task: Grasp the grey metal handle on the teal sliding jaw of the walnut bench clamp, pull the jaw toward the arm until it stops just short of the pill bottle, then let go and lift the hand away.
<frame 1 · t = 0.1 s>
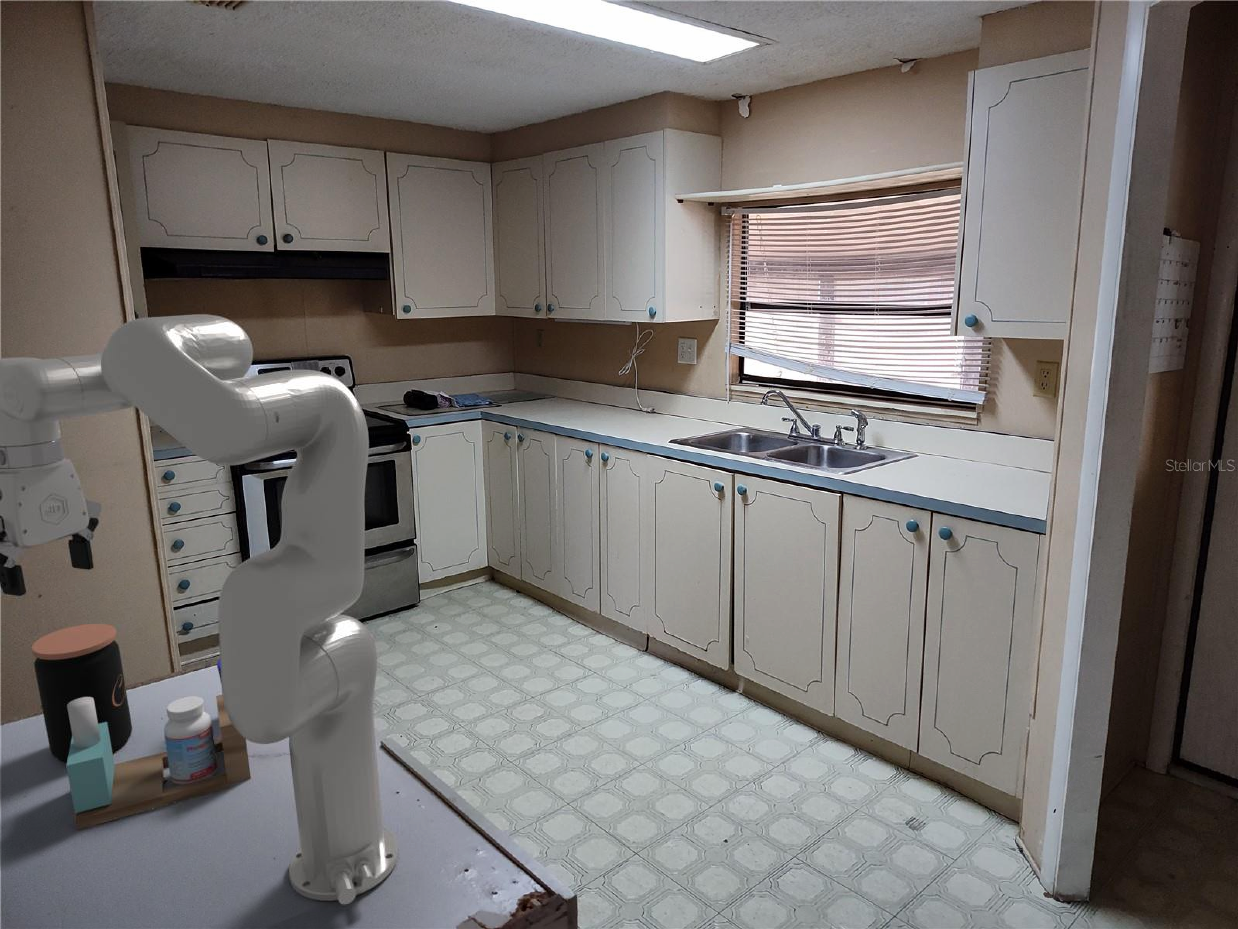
hand: (50, 580, 109), 31 cm above the counter, tool pointing down, fingers open, 9 cm apart
clamp frame: (167, 781, 117), on the counter
coffee jar: (93, 747, 126), on the counter
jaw: (88, 746, 111), point 8 cm above the counter, slide at 0.0 cm
mug: (262, 710, 137), on the counter
pill bottle: (195, 776, 119), resting in clamp frame
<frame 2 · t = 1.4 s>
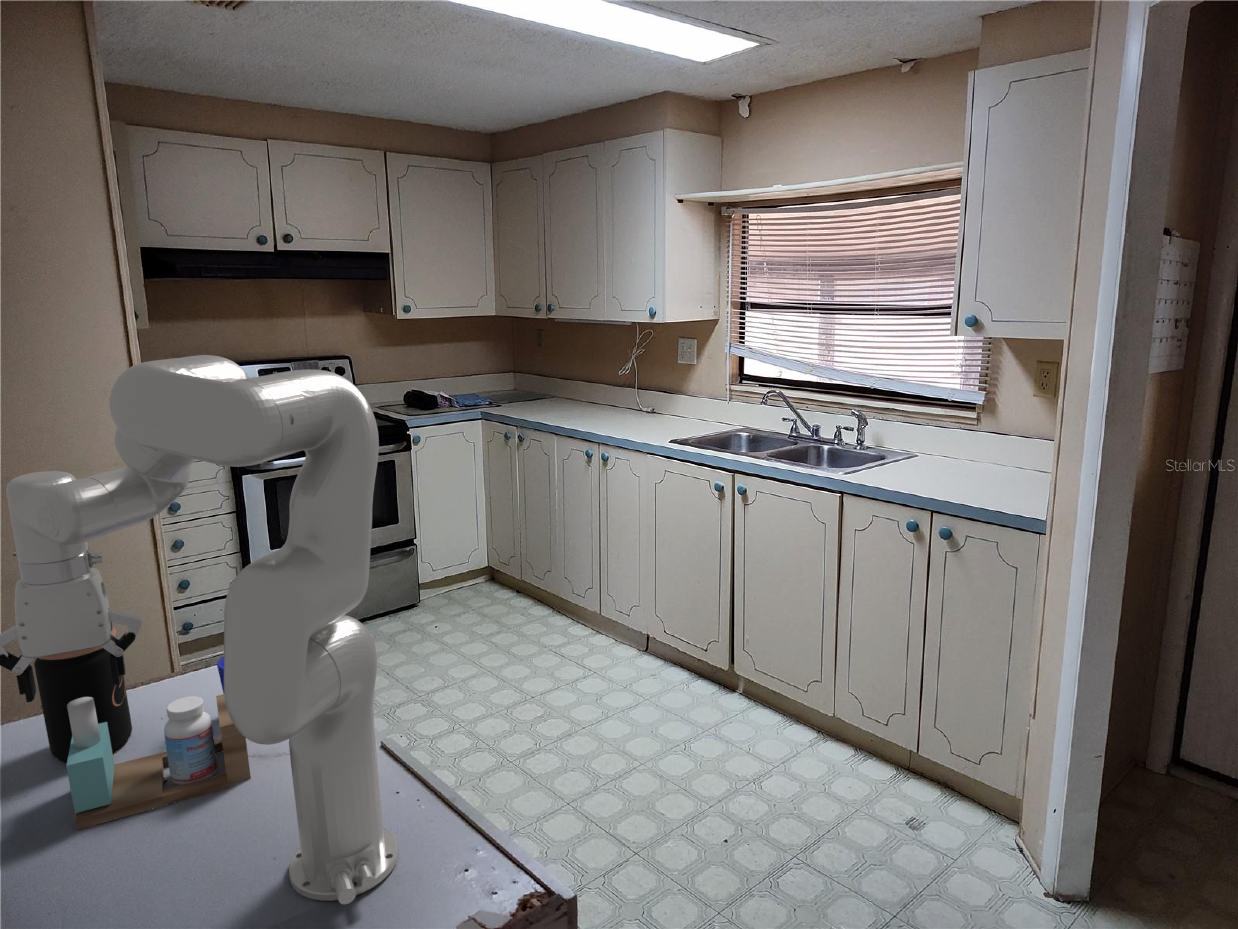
hand: (75, 688, 110), 17 cm above the counter, tool pointing down, fingers open, 9 cm apart
nothing on the counter moved.
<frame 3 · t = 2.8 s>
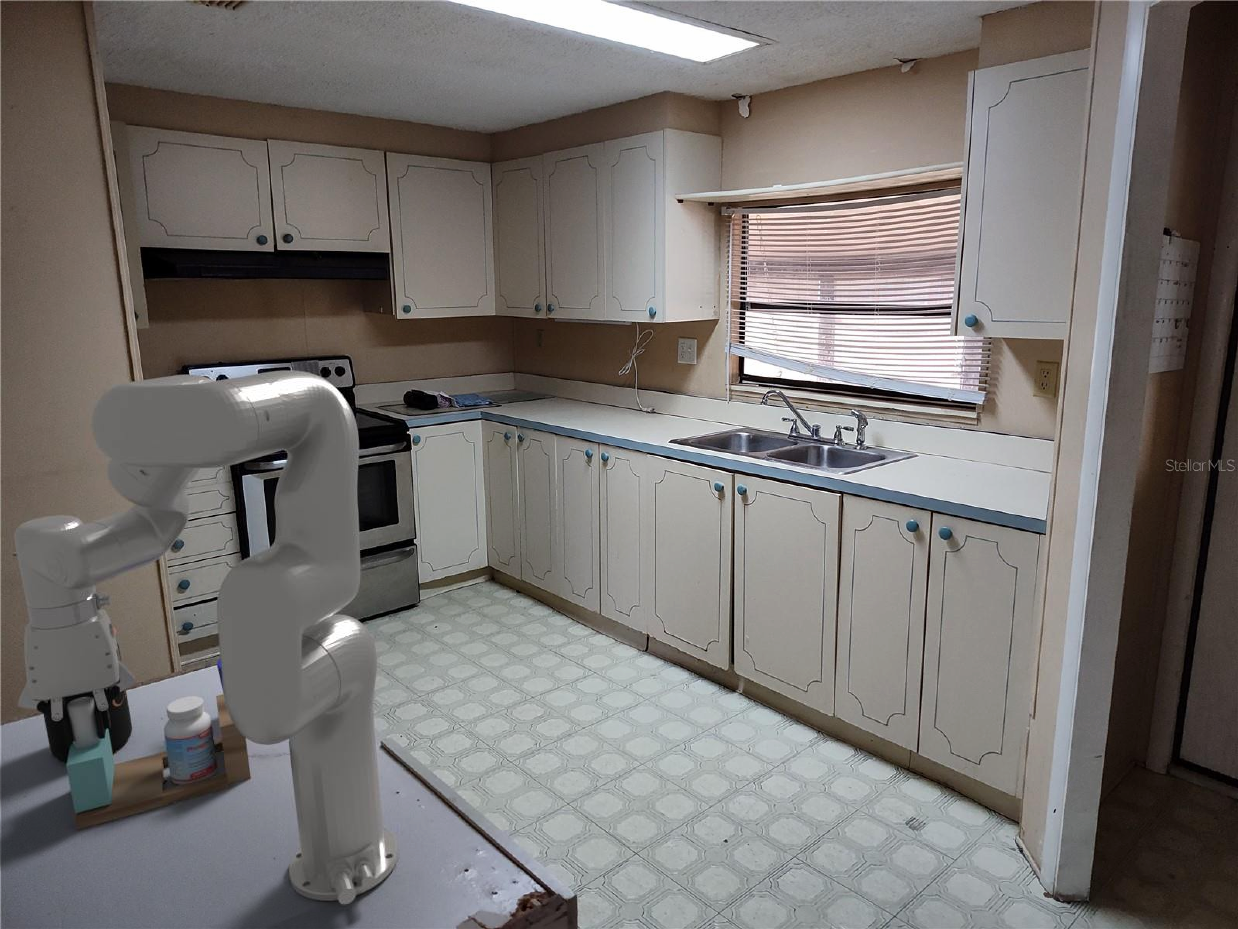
hand: (86, 736, 111), 10 cm above the counter, tool pointing down, fingers closed on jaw, 3 cm apart
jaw: (88, 746, 111), point 8 cm above the counter, slide at 0.0 cm, touching gripper
everything else where it was.
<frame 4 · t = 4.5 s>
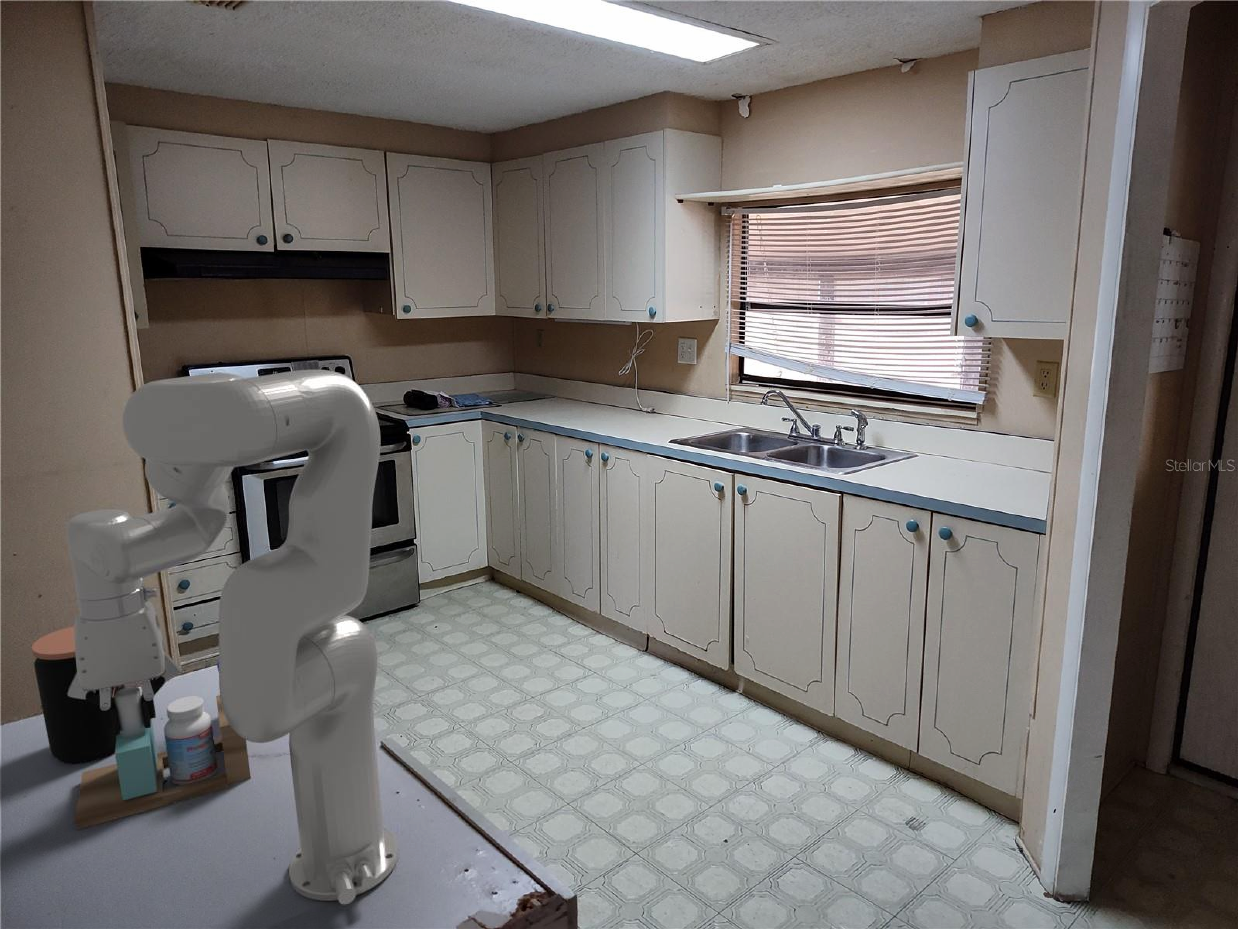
hand: (132, 726, 114), 10 cm above the counter, tool pointing down, fingers closed on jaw, 3 cm apart
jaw: (134, 735, 114), point 8 cm above the counter, slide at 5.4 cm, touching gripper
everything else where it was.
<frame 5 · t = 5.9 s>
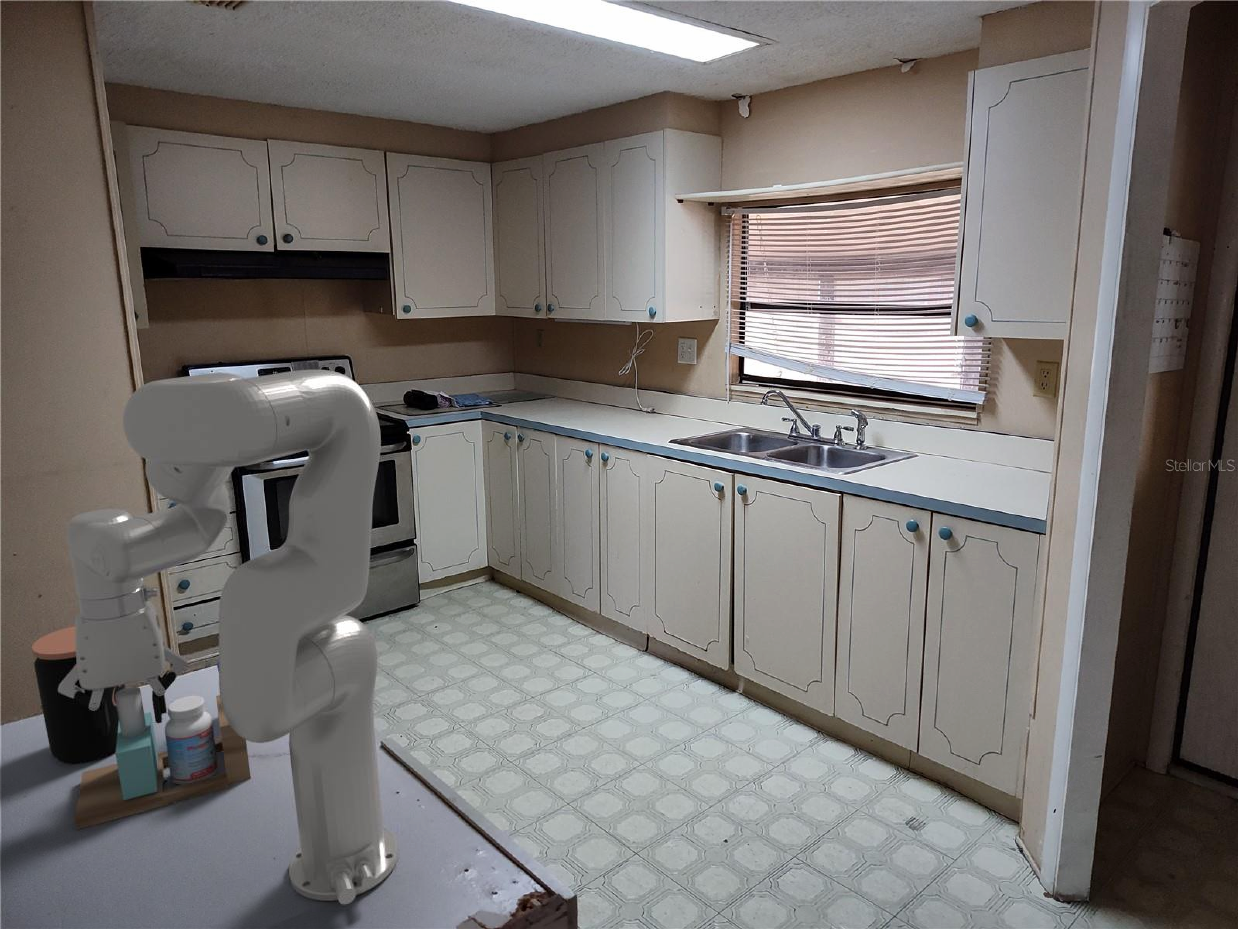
hand: (132, 723, 114), 10 cm above the counter, tool pointing down, fingers open, 5 cm apart
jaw: (134, 735, 114), point 8 cm above the counter, slide at 5.5 cm
pill bottle: (195, 775, 119), resting in clamp frame, touching gripper
everything else where it was.
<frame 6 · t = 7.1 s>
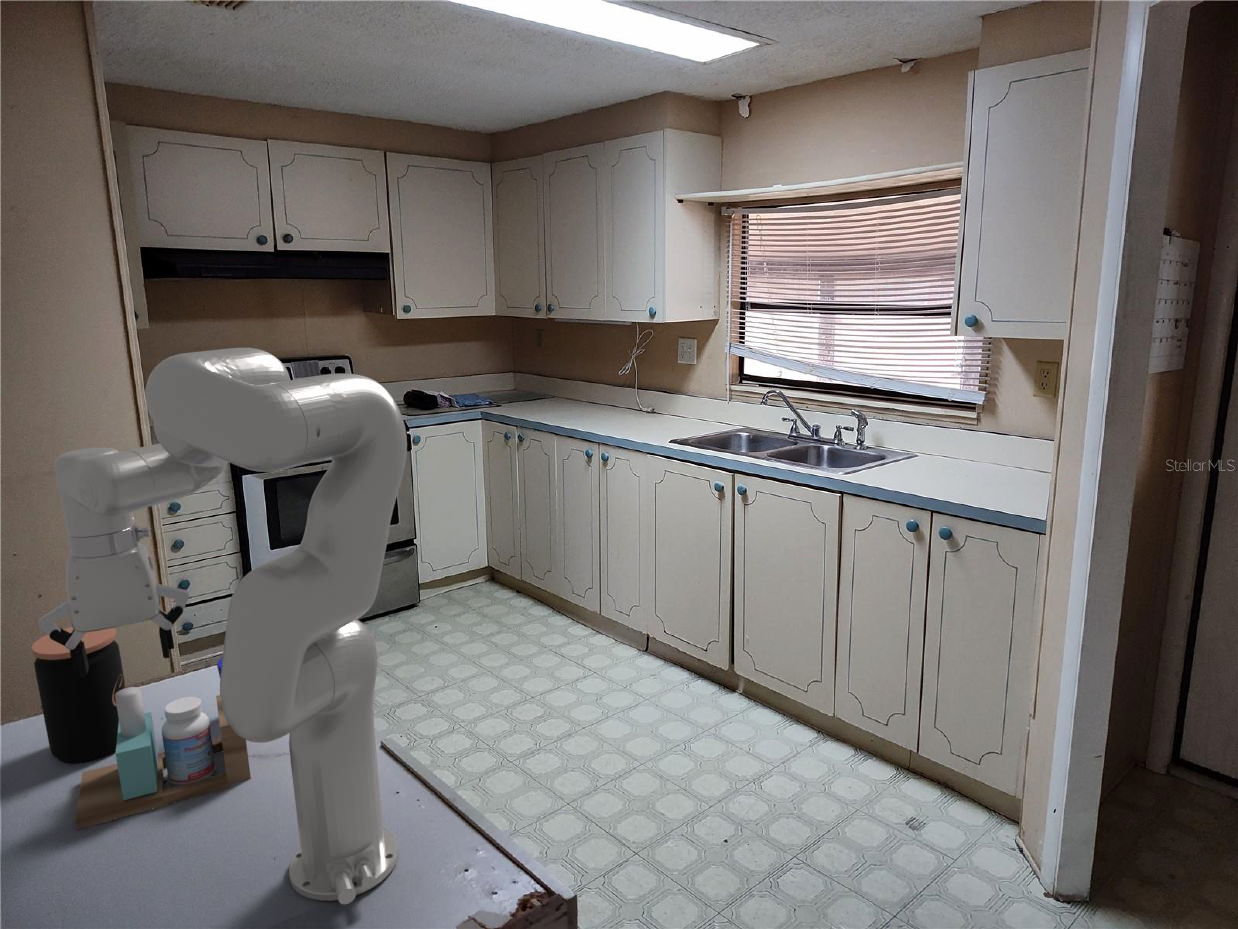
hand: (126, 663, 111), 19 cm above the counter, tool pointing down, fingers open, 9 cm apart
pill bottle: (192, 776, 119), resting in clamp frame
everything else where it was.
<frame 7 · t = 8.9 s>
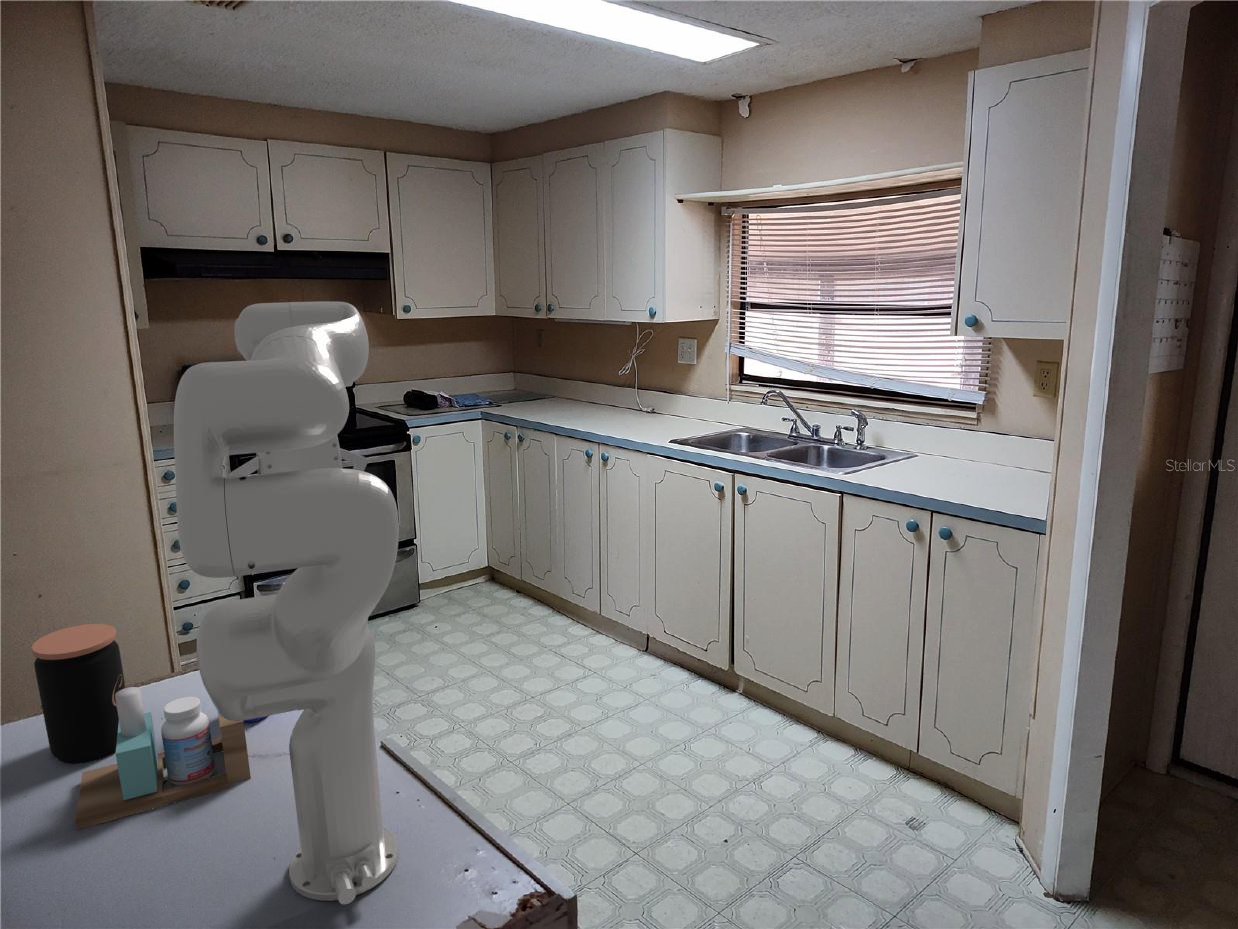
hand: (306, 526, 111), 37 cm above the counter, tool pointing down, fingers open, 9 cm apart
nothing on the counter moved.
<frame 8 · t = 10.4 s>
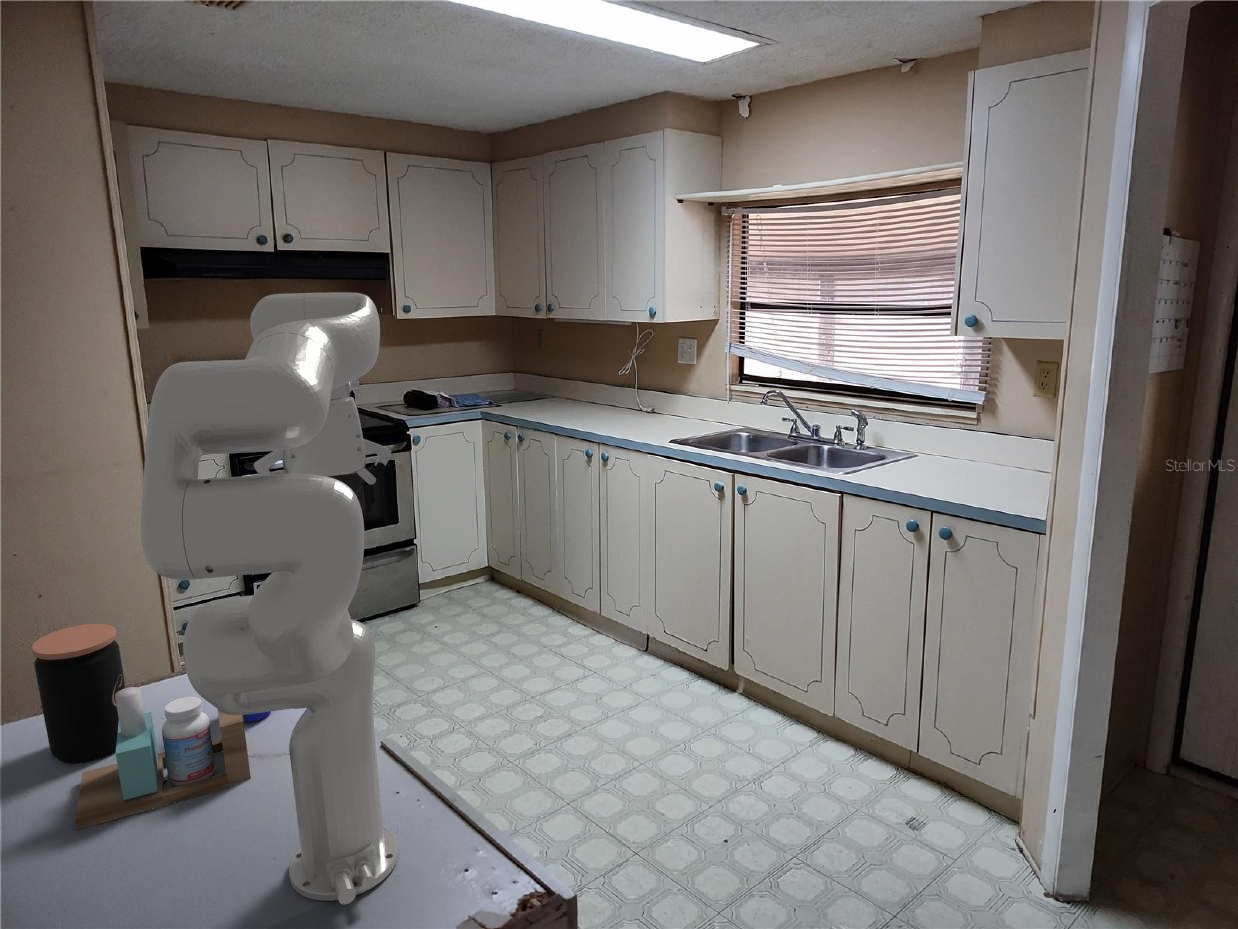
hand: (330, 516, 111), 38 cm above the counter, tool pointing down, fingers open, 9 cm apart
nothing on the counter moved.
at the end: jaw slide at 5.5 cm; pill bottle moved 0.4 cm from its start; the gripper is holding nothing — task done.
